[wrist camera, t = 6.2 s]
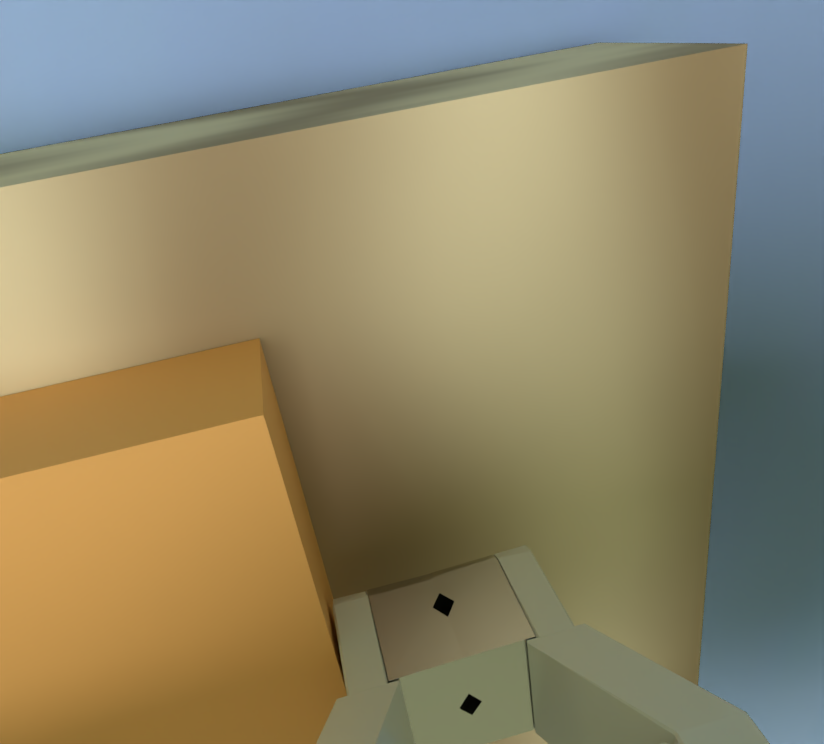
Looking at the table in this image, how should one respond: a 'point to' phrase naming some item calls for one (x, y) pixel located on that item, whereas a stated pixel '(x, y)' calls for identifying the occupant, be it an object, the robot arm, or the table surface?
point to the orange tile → (160, 562)
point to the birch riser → (433, 308)
